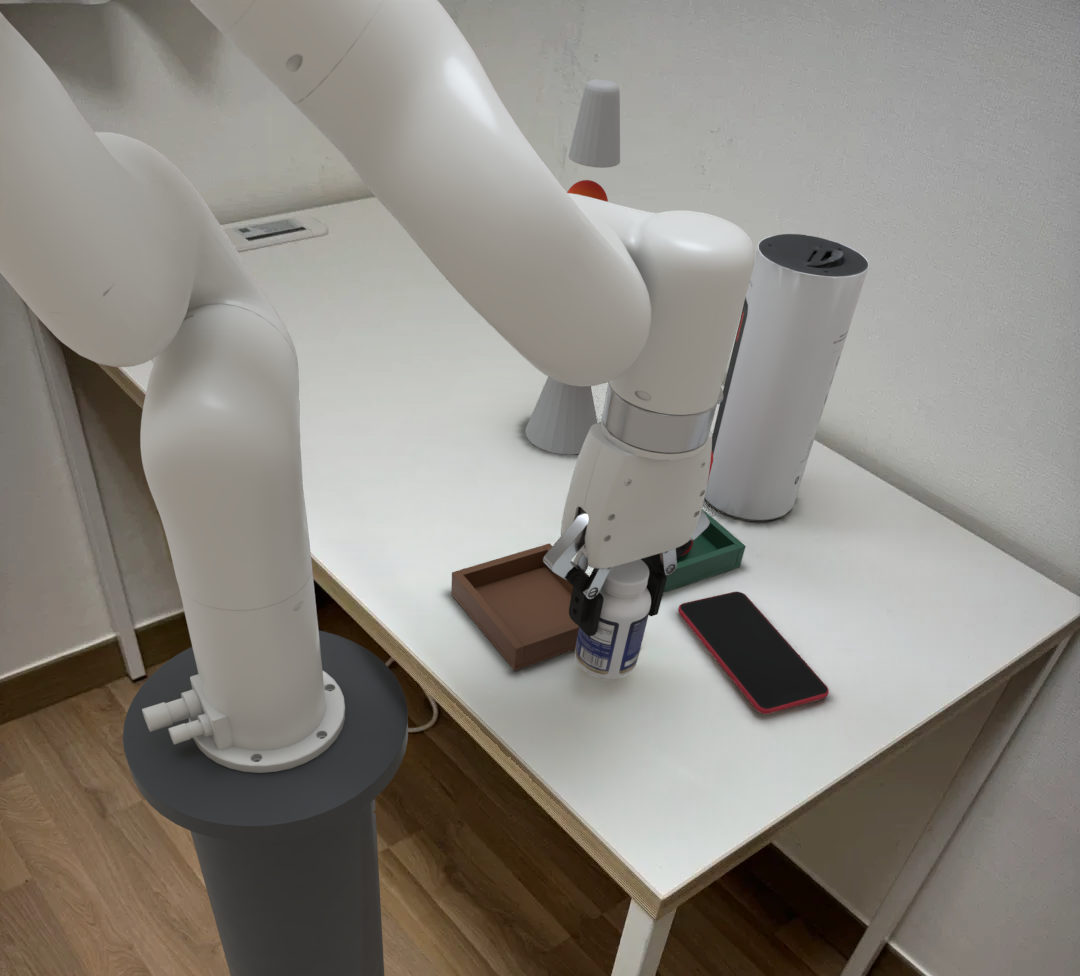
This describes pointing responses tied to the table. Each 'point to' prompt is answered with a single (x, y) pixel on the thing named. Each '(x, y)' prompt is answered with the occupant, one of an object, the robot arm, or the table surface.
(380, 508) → the table surface
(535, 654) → the walnut tray
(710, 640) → the smartphone
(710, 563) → the green tray
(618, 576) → the pill bottle
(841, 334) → the white tall cylinder
